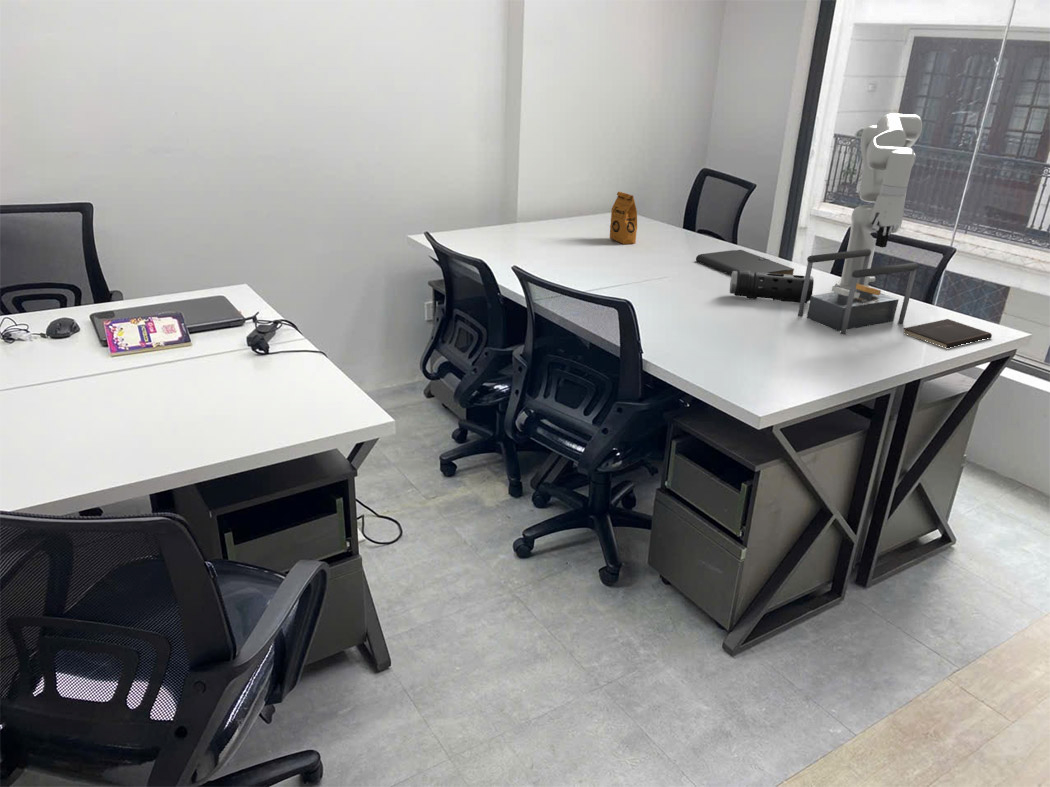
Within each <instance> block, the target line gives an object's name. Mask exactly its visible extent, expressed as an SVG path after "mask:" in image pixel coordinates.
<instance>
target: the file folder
mask: <svg viewBox="0 0 1050 787" xmlns="http://www.w3.org/2000/svg"><path fill="white" fill-rule="evenodd" d="M695 261H696V262H698V263H700V264H702V265H705V266H707V267H709V268H712V269H714V270H716V271H719V272H722V273H724V274H727V275H729V276H731V275H732V271H737V270H749V271H751V273H755V272H764V273H775V274H788V275H794V272H795V268H794V267H793V268H792V267H790V266H787V265H784V264H781V263H779V262H777V261H773V260H771V259H769V258H766V257H764V256H763V257H762V256H760V255H758V254H757V255H756V254H754V253H751V252H749V251H746V250H744V249H734V250H733V249H732V250H730V249H729V250H724V251H717V252H708V253H700V254H697V256H696V257H695Z"/></svg>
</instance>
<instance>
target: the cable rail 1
mask: <svg viewBox="0 0 1050 787" xmlns="http://www.w3.org/2000/svg"><path fill="white" fill-rule="evenodd" d="M870 255H871V250H870V249H864V250H856V251H847V250H846V251H841V252H839V251H838V252H832V253H822V254H815V255H813V254H812V255H809V256H808V257H807V258H806V260H807V265H806V271H805V274H804V276H805V280H804V285H803V291H802V296H801V301H800V303H799V307H798V312H797V317H799V318H802V317H803V315H804V311H805V305H806V303H805V301H806V296H807V291H808V286H809V280H810V276H811V274H812V270H813V264H814V263H815V264H816V263H822V262H829V261H839V260H845V259H848V258H856V257H864V256H865V258H864V263H863V267H862V269H867V267H868V263H869V258H870ZM864 281H865V277H860V281H859V284H860V285H864Z"/></svg>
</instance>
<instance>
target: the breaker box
mask: <svg viewBox="0 0 1050 787" xmlns="http://www.w3.org/2000/svg"><path fill="white" fill-rule="evenodd" d="M855 292H858V293H860V295H859V298H855V297H854V298H853V303H852V307H851V312H850V317H849V321H848V326H847V330H854V329H859V328H865V327H866V328H867V327H869V326H876V325H881V324H889V323H893V322H894V320H895V316H896V312H897V308H898V304H899V300H900V299H899V298H896V297H893V296H890V295H887V294H884V293H881V292H880V295H876V294H872V293H868V292H864V291H861V290H859V289H855ZM847 301H848V296H845V295H841V294H838V293H836V292H833V291H832V292H827V293H819V294H812V296H811V298H810V301H809V304H808V310H807V314H806V319H808V320H811V321H813V322H815V323H817V324H820V325H822V326H825V327H827V328H829V329H832V330H833V331H836V332H841V328H842V324H843V319H844V315H845V310H846V305H847ZM847 330H846V331H847Z"/></svg>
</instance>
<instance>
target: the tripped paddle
mask: <svg viewBox="0 0 1050 787" xmlns="http://www.w3.org/2000/svg"><path fill="white" fill-rule="evenodd" d="M869 286H870V285H869ZM869 286H864V285H860V284H857V285H856V289H859V290H861V291H864V292H868V293H872V294H876V295H880V293H881V292H882V290H880V289H877V288H875V287H872V286H870V287H869Z"/></svg>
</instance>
